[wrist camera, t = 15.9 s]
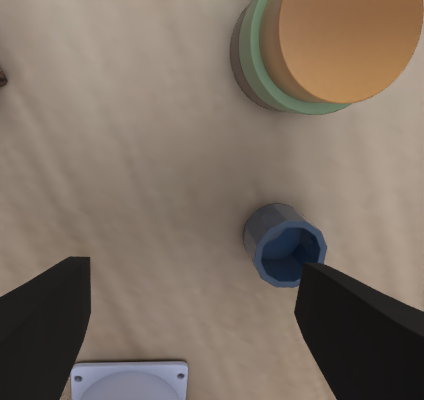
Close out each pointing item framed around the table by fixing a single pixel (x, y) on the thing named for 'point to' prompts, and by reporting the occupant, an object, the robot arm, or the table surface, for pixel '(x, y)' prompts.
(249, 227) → the small cup
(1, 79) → the letter holder
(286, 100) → the sage chip
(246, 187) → the table surface
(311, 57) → the orange short cylinder
